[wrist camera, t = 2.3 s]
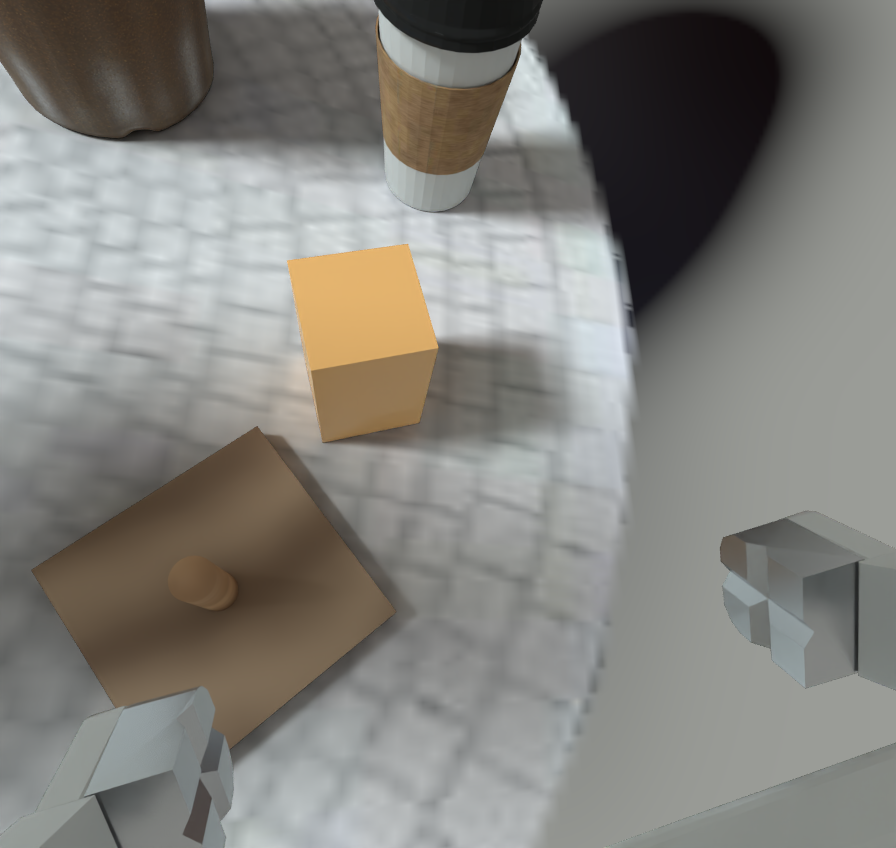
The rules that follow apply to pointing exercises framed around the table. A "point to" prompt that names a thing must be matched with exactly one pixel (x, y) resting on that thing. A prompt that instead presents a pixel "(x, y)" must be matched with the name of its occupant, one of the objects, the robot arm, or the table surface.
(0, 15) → the plant pot
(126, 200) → the table surface
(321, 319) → the tall orange pillar
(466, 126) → the coffee cup
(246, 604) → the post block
